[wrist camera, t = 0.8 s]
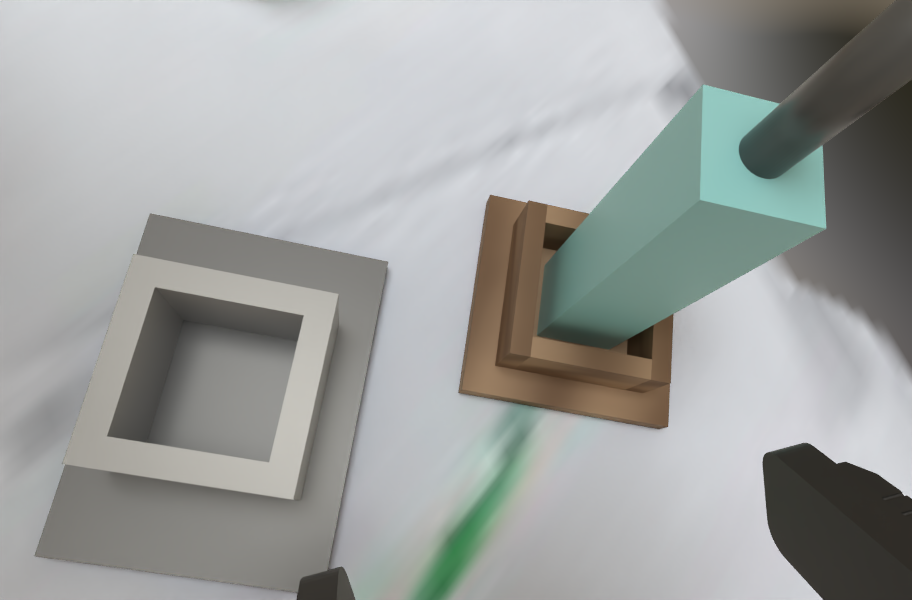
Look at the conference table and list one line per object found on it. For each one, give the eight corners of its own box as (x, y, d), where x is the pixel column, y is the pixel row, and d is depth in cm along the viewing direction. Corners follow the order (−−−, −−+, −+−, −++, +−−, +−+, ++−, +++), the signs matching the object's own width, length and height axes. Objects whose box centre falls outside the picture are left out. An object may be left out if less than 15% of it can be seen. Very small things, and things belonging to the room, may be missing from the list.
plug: (536, 335, 33) (861, 65, 13) (544, 265, 35) (850, -85, 14) (609, 349, 34) (1036, 111, 13) (613, 280, 35) (1010, -38, 14)
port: (44, 554, 27) (-32, 568, 22) (155, 221, 33) (116, 163, 27) (322, 592, 29) (318, 615, 23) (386, 268, 34) (396, 222, 28)
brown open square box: (458, 392, 33) (474, 378, 29) (486, 202, 36) (503, 168, 32) (659, 428, 34) (698, 419, 30) (667, 242, 38) (703, 213, 34)
